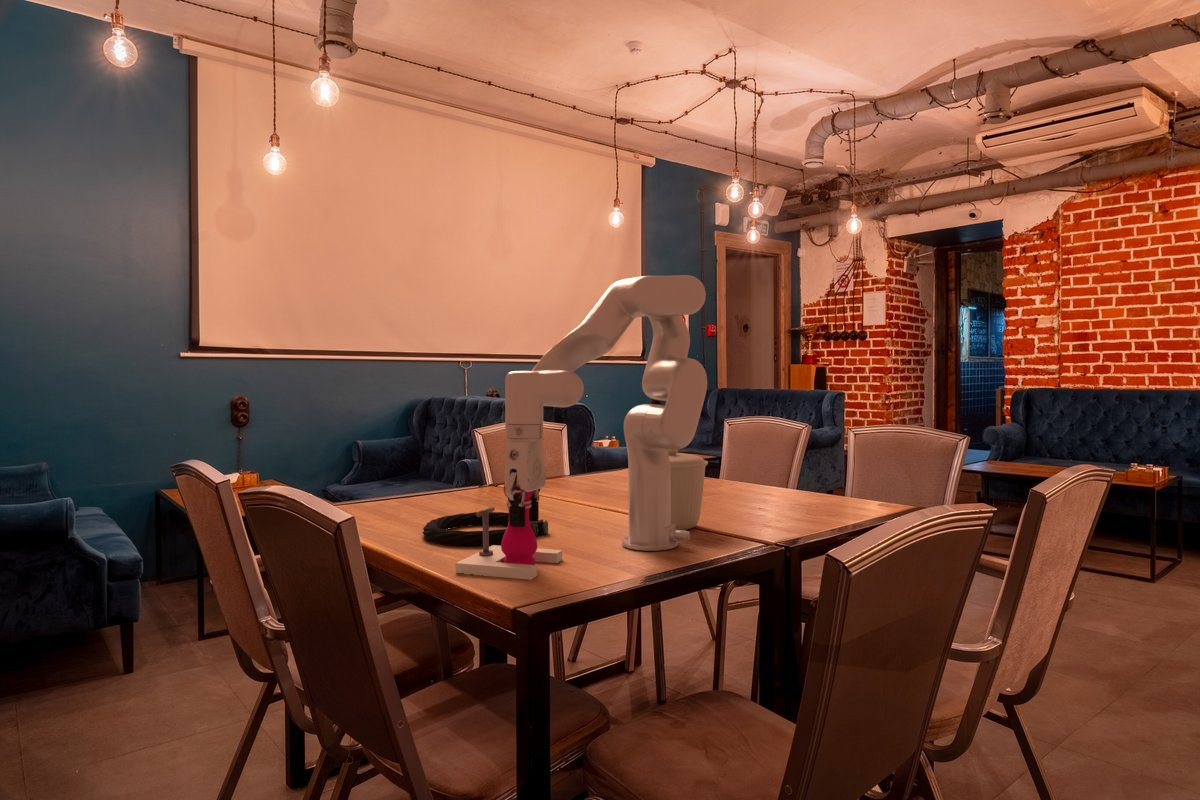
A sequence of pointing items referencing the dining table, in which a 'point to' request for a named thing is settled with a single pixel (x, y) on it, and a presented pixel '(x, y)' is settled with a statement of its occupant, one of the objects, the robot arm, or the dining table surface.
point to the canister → (686, 488)
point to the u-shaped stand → (502, 558)
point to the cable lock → (439, 534)
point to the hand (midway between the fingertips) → (524, 522)
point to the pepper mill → (520, 538)
